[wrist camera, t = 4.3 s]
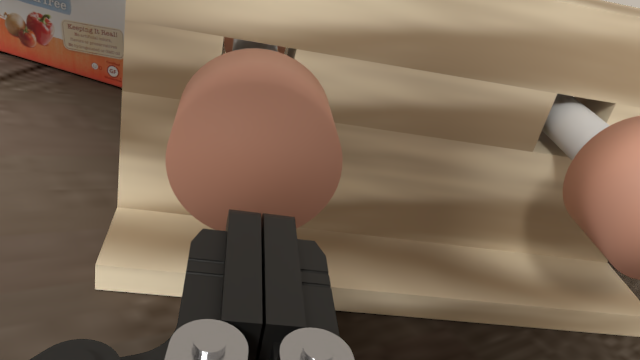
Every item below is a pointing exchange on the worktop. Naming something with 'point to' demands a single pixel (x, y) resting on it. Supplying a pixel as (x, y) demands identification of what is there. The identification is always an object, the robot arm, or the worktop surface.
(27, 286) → the worktop surface
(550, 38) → the knob panel
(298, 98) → the knob
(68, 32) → the cracker box
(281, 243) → the robot arm
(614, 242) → the knob
